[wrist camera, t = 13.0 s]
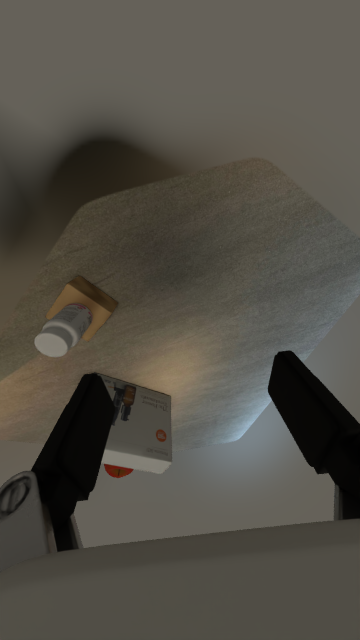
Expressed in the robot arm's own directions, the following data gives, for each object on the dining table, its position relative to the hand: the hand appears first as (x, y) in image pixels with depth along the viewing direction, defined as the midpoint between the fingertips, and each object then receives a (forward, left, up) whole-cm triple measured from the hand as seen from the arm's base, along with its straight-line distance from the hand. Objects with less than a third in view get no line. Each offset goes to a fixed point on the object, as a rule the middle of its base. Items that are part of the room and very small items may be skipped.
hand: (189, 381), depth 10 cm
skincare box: (+30, -15, -26) cm, 42 cm away
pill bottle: (+5, -17, -21) cm, 28 cm away
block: (+5, -17, -26) cm, 31 cm away
